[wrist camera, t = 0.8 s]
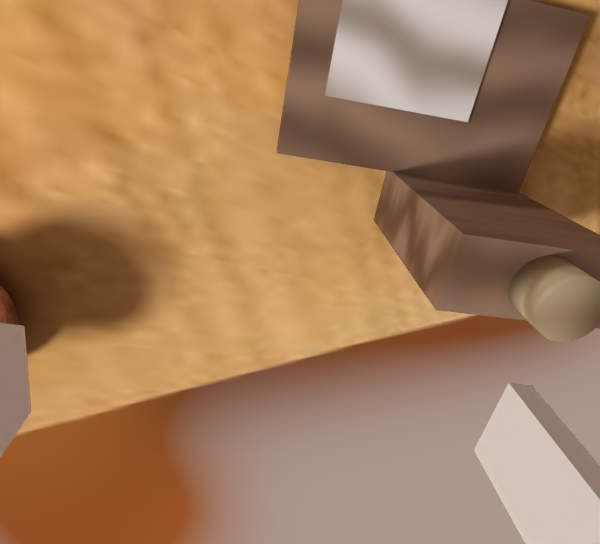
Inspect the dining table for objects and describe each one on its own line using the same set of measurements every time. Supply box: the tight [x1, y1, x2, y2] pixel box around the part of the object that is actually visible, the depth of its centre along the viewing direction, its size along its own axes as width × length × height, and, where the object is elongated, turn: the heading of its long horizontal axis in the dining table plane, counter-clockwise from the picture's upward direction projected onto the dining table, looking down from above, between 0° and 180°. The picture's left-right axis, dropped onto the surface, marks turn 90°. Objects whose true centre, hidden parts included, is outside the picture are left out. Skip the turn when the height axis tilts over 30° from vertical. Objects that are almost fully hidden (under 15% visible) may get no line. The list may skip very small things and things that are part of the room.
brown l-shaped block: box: [277, 0, 600, 342], centre depth 28 cm, size 19×22×19 cm
